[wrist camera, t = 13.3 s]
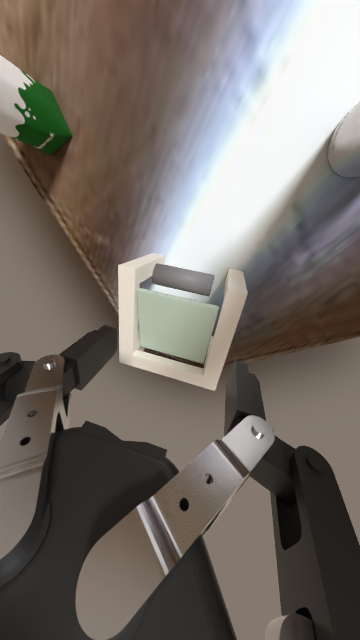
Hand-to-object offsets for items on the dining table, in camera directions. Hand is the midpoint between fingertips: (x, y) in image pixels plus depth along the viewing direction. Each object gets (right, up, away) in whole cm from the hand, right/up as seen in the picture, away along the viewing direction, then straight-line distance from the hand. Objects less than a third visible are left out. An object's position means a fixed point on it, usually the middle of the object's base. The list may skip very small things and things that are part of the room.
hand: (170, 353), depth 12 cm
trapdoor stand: (+3, +6, +35) cm, 36 cm away
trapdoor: (+1, +5, +26) cm, 26 cm away
